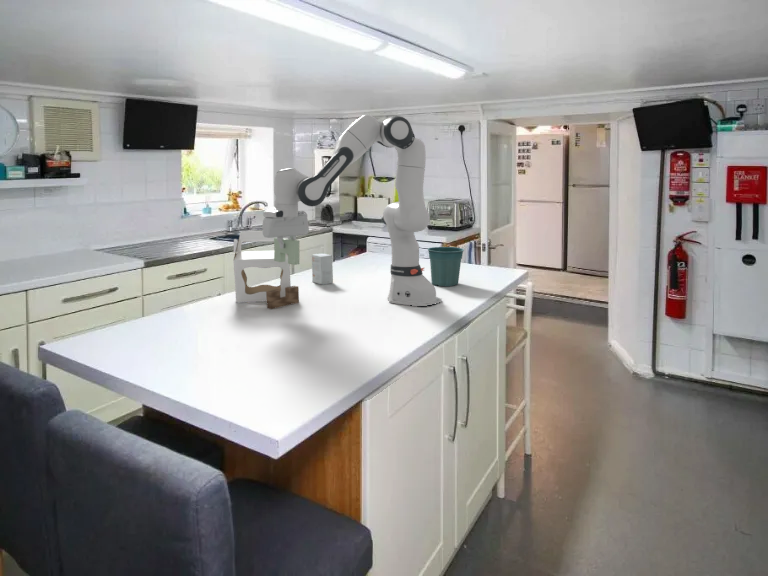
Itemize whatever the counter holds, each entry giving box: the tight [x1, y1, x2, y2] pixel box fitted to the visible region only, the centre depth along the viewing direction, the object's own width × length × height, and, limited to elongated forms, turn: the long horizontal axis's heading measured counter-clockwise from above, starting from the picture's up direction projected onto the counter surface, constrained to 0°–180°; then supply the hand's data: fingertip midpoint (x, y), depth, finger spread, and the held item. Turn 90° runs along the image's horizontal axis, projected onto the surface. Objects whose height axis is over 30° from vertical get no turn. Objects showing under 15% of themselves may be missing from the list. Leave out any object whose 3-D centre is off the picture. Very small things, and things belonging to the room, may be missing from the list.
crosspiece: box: [273, 237, 300, 266], centre depth 223 cm, size 12×2×9 cm, turn 49°
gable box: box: [233, 229, 292, 303], centre depth 237 cm, size 22×13×28 cm, turn 101°
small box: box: [311, 253, 334, 285], centre depth 267 cm, size 8×6×13 cm
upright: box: [266, 285, 300, 310], centre depth 227 cm, size 14×2×6 cm, turn 139°
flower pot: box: [427, 246, 465, 287], centre depth 263 cm, size 16×16×16 cm
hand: (286, 247), depth 223 cm, fingers closed on crosspiece, 2 cm apart
